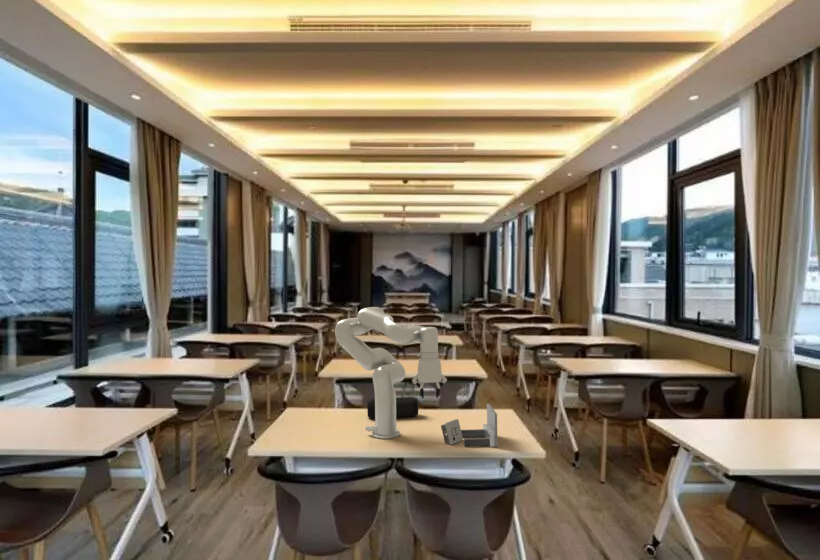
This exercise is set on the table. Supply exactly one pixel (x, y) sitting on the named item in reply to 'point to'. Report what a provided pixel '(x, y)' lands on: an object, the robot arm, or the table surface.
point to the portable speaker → (397, 407)
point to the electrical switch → (452, 432)
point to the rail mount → (483, 432)
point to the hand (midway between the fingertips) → (429, 397)
